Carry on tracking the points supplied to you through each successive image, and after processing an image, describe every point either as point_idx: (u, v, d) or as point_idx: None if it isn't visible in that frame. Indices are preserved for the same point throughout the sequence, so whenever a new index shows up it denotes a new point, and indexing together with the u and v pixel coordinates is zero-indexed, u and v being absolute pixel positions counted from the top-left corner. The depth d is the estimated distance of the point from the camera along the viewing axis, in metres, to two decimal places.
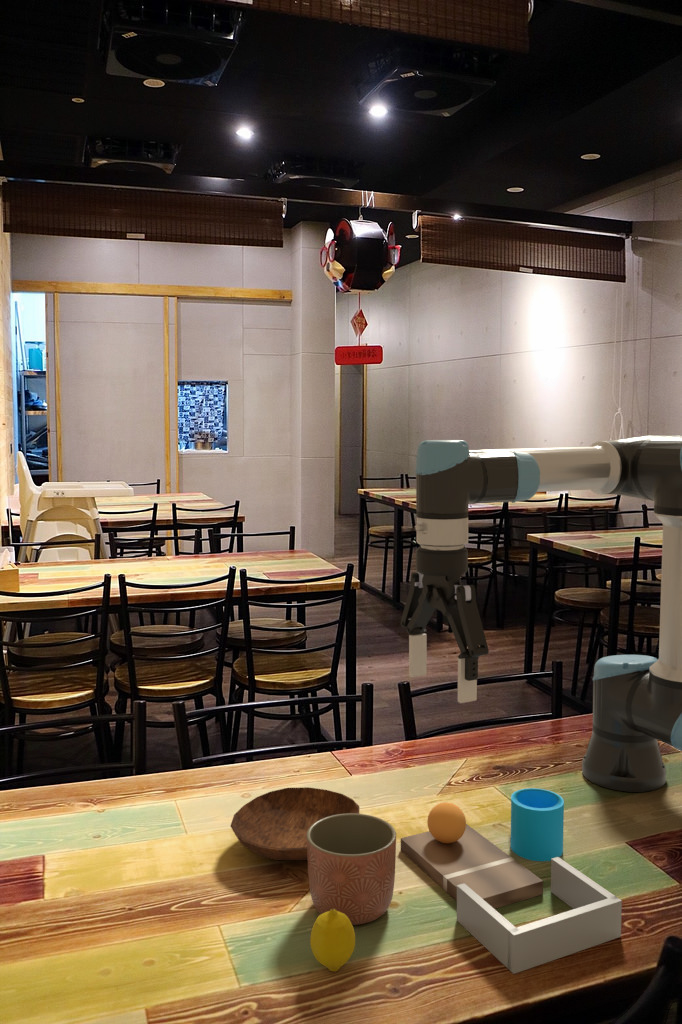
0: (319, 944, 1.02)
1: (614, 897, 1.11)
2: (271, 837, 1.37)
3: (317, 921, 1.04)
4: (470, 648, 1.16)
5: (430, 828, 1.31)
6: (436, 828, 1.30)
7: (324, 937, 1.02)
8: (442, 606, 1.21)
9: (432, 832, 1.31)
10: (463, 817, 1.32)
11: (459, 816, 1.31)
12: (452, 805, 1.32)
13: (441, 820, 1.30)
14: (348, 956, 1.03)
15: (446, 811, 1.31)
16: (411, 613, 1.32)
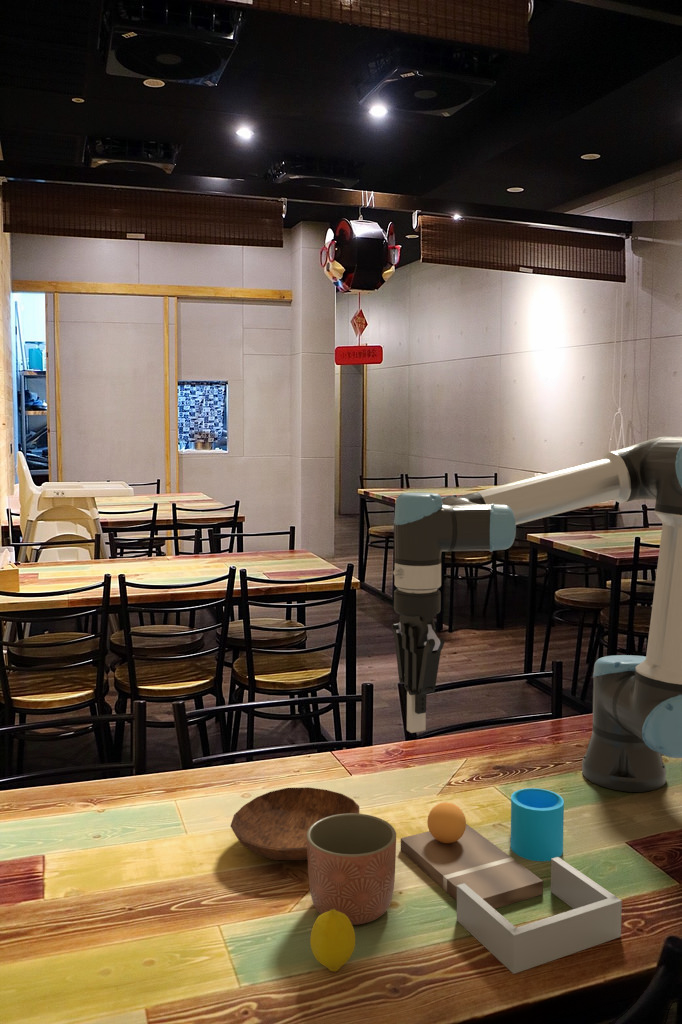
0: (319, 944, 1.02)
1: (614, 897, 1.11)
2: (271, 837, 1.37)
3: (317, 921, 1.04)
4: (420, 686, 1.35)
5: (430, 828, 1.31)
6: (436, 828, 1.30)
7: (324, 937, 1.02)
8: (411, 645, 1.36)
9: (432, 832, 1.31)
10: (463, 817, 1.32)
11: (459, 816, 1.31)
12: (452, 805, 1.32)
13: (441, 820, 1.30)
14: (348, 956, 1.03)
15: (446, 811, 1.31)
16: (404, 664, 1.41)
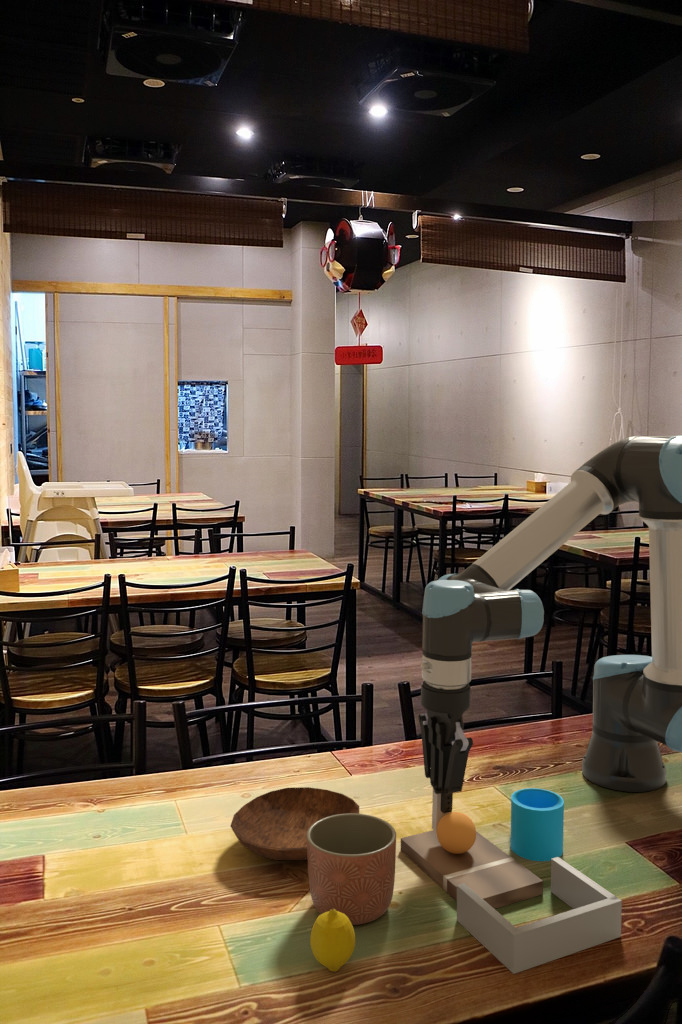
0: (319, 944, 1.02)
1: (614, 897, 1.11)
2: (271, 837, 1.37)
3: (317, 921, 1.04)
4: (446, 786, 1.28)
5: (439, 839, 1.28)
6: (446, 845, 1.27)
7: (323, 937, 1.02)
8: (438, 742, 1.29)
9: (440, 843, 1.28)
10: (475, 836, 1.28)
11: (471, 837, 1.27)
12: (467, 824, 1.28)
13: (453, 841, 1.27)
14: (348, 956, 1.03)
15: (460, 834, 1.27)
16: (431, 758, 1.34)
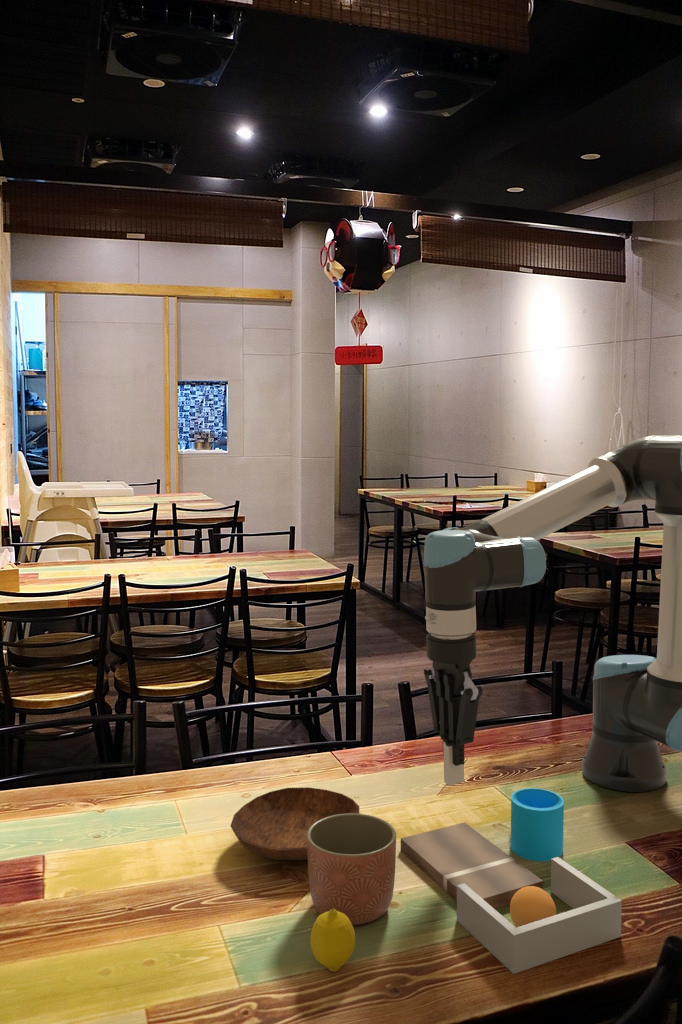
0: (319, 944, 1.02)
1: (614, 897, 1.11)
2: (271, 837, 1.37)
3: (317, 921, 1.04)
4: (458, 738, 1.27)
5: (513, 919, 1.11)
6: None
7: (323, 937, 1.02)
8: (447, 694, 1.28)
9: (513, 922, 1.11)
10: None
11: None
12: (549, 910, 1.10)
13: None
14: (348, 956, 1.03)
15: None
16: (439, 712, 1.33)
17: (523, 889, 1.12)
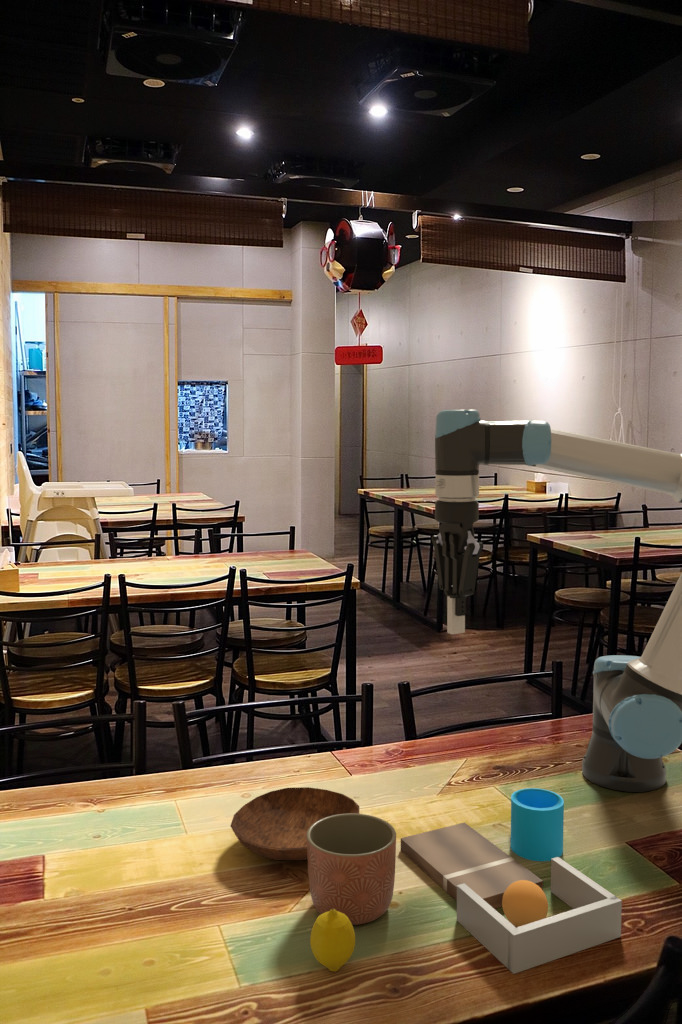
0: (319, 944, 1.02)
1: (614, 897, 1.11)
2: (271, 837, 1.37)
3: (317, 921, 1.04)
4: (460, 589, 1.45)
5: (507, 914, 1.12)
6: (515, 918, 1.11)
7: (323, 937, 1.02)
8: (452, 551, 1.46)
9: (509, 918, 1.12)
10: (547, 905, 1.12)
11: (543, 906, 1.11)
12: (536, 891, 1.12)
13: (523, 912, 1.11)
14: (348, 956, 1.03)
15: (530, 902, 1.11)
16: (444, 572, 1.51)
17: (509, 885, 1.15)
